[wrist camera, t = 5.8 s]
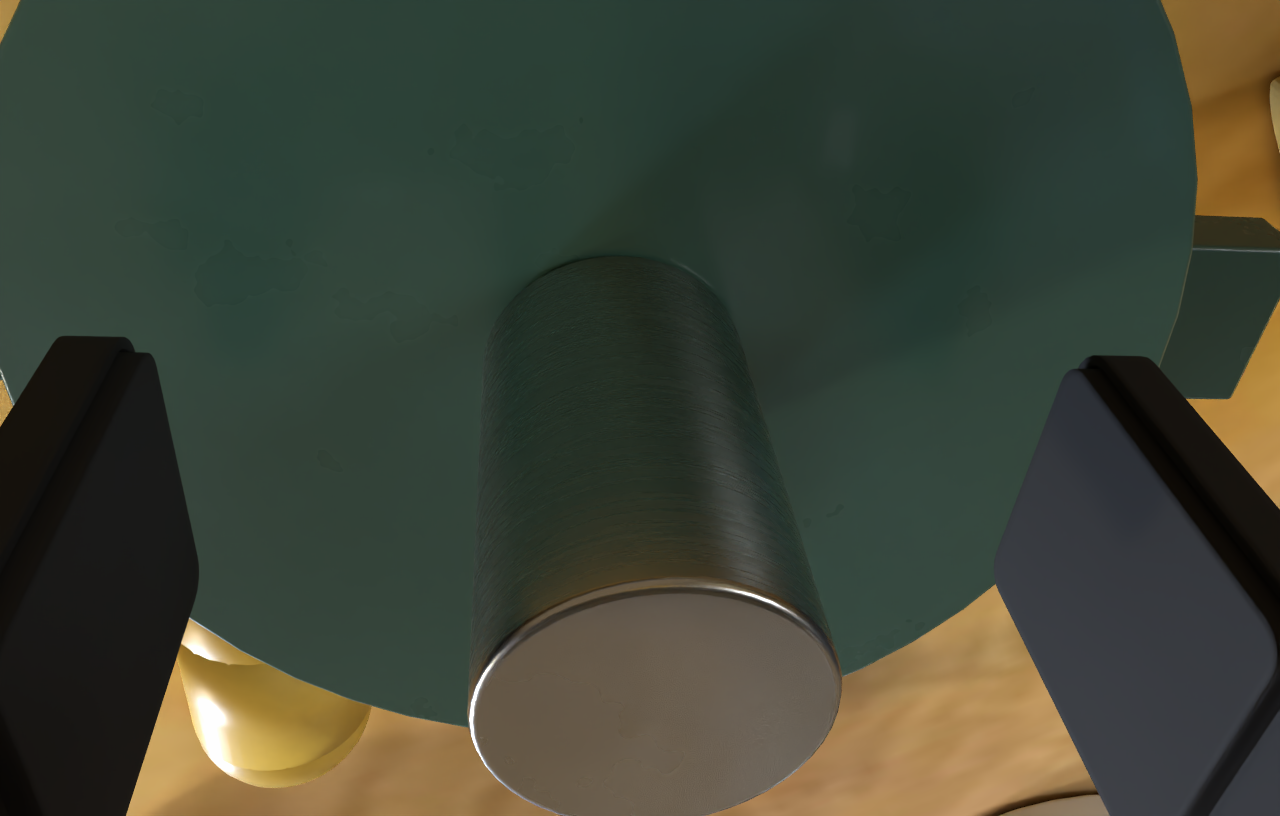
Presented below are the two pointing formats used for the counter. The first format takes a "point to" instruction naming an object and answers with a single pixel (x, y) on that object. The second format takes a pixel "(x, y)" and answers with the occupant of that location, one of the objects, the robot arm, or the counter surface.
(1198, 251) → the pot
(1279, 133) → the cheese
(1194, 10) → the counter surface
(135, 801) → the counter surface
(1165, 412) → the robot arm
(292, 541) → the lid
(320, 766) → the yellow capsule
